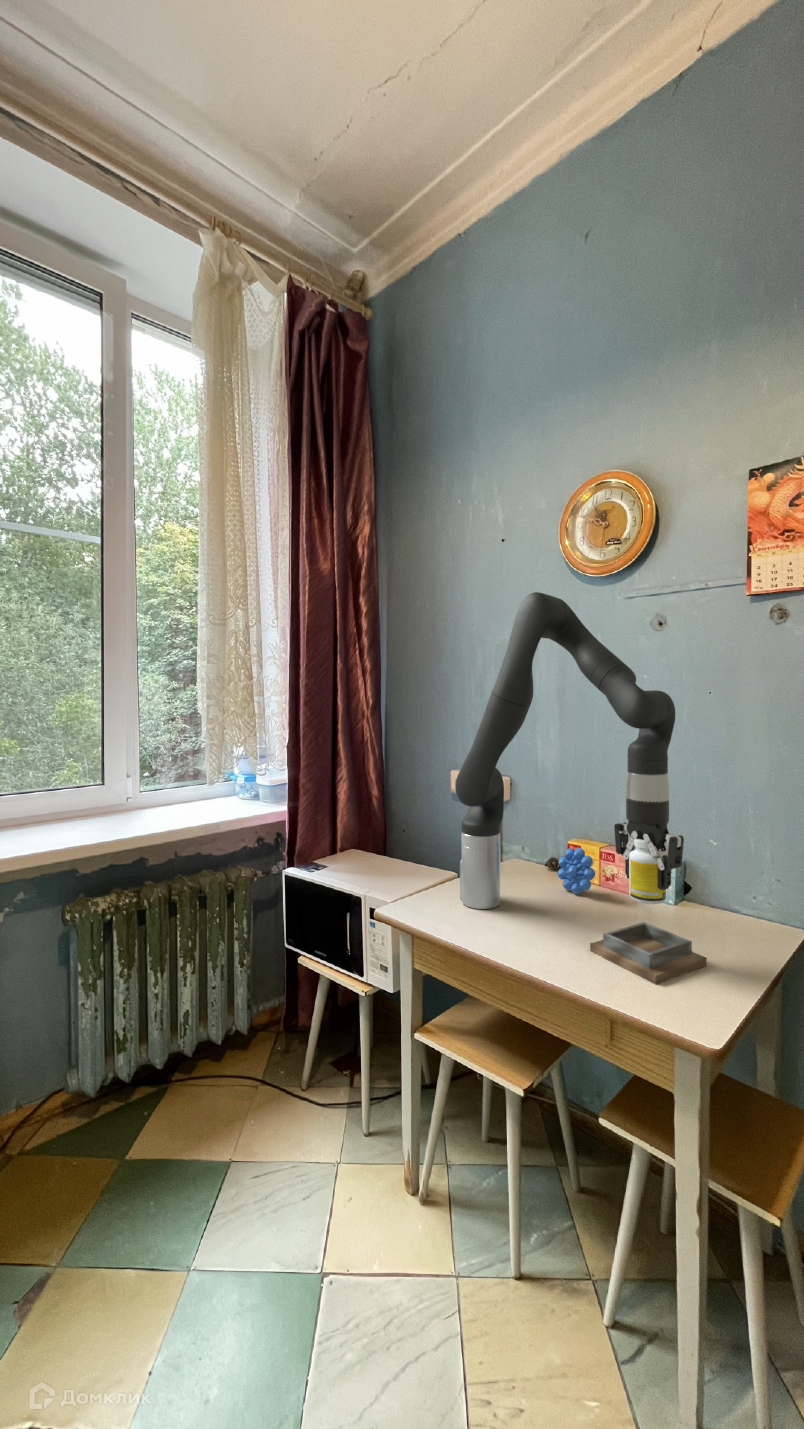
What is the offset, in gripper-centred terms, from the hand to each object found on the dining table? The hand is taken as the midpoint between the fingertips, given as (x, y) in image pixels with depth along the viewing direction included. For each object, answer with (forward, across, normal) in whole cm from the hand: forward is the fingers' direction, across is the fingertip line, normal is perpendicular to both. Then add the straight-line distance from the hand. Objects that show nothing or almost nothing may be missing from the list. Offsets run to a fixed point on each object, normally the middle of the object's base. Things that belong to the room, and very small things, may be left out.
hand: (647, 883), depth 112 cm
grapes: (+15, +32, -15) cm, 39 cm away
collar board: (+14, 0, 0) cm, 14 cm away
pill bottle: (+3, 0, 0) cm, 3 cm away
